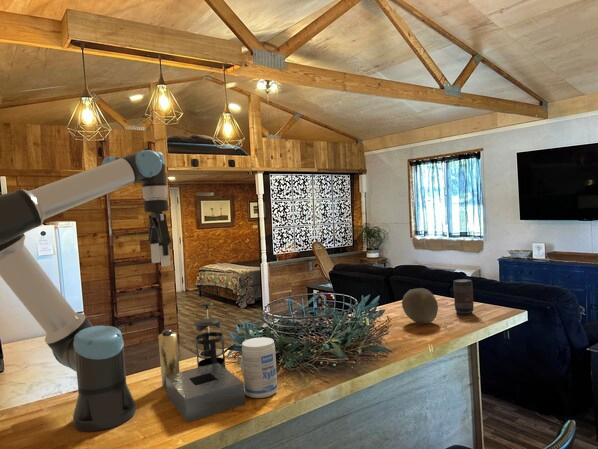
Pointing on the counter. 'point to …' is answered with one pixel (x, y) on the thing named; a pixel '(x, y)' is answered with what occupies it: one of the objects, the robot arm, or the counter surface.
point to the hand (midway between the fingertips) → (160, 264)
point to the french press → (209, 341)
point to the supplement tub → (259, 367)
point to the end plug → (168, 354)
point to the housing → (204, 391)
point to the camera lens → (463, 297)
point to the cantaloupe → (420, 305)
